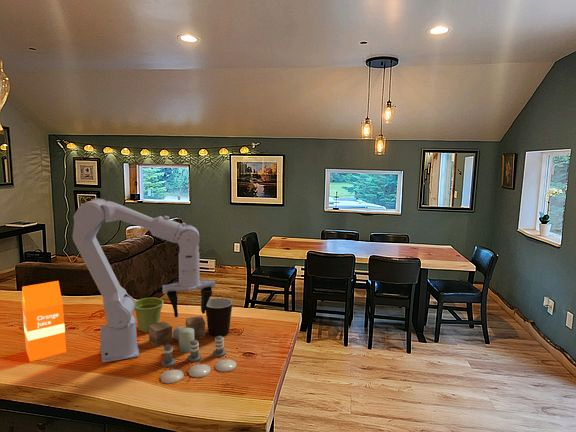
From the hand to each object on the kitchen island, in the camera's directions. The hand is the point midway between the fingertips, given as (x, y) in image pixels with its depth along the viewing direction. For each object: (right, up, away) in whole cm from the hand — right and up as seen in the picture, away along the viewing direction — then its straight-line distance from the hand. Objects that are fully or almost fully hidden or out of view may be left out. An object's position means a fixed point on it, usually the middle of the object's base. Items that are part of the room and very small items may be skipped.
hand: (189, 314), depth 114 cm
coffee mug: (+7, -9, +13) cm, 17 cm away
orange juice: (-40, -10, -2) cm, 41 cm away
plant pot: (-17, -8, +13) cm, 23 cm away
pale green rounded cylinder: (-1, -10, +1) cm, 10 cm away
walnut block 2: (-1, -9, +10) cm, 13 cm away
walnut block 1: (-10, -10, +5) cm, 15 cm away
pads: (+5, -12, -11) cm, 17 cm away
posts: (+3, -11, -5) cm, 12 cm away
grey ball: (-5, -9, +6) cm, 12 cm away
